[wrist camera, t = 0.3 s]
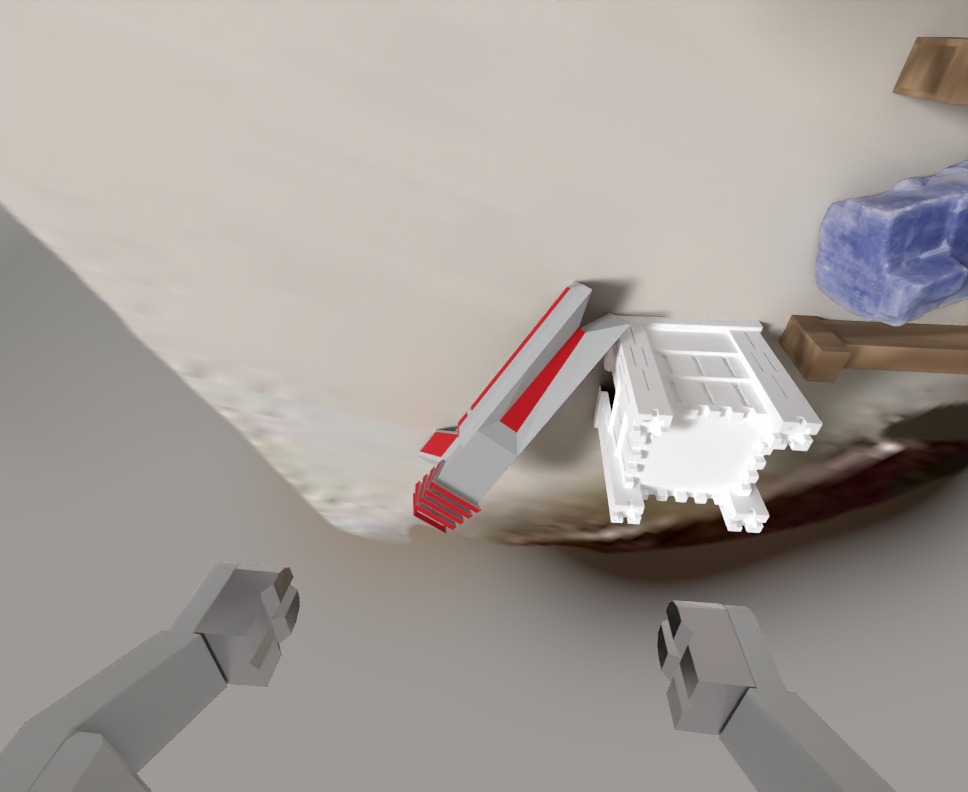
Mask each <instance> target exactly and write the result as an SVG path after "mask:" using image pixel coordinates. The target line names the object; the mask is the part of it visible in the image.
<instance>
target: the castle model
mask: <svg viewBox="0 0 968 792" xmlns="http://www.w3.org/2000/svg"><path fill="white" fill-rule="evenodd" d="M616 316H618V317H620V318H622V319H624V320H626V321H628V322H630V323H631V324H630V325H629V326H628V328H627V329H626V330H625V331H624V332H623V334H622V335H621V336H620V337H619V338H618V339H617V341H616V342H615V343H614V344H613V345H612V346H611V348H610V349H609V350H608V351H607V352H606V353H605V358H604V368H605V370H606V371H608V372H612V376H613V381H614V386H615V391H616V394H615V398H614V403H613V408H612V412H611V407H610V401H609V395H608V392H605V391H601V388H600V386H599V392H598V397H597V403H596V409H595V414H594V420H593V422H594V428H598V431H599V438H600V445H601V453H602V460H603V467H604V474H605V481H606V489H607V496H608V503H609V510H610V518H611V522H614V523H622V522H623V517H627V521H628V524H639V523H640V520H641V514H643V510H644V502H643V500H647V499H648V496H649V494H653V495H656V499H657V500H658V501H667V498H668V496H675V500H676V502H686V500H687V498H688V497H694V500H695V503H703V504H705V503H706V501H707V498H713V500H714V503H715V504H717V505H719V507H720V510H721V512H722V515H723V518H724V521H725V523H726V526H727V529H728V531H740V532H741V530H742V526H741V525H743V526H745V528H746V531H747V532H754V533H760V531H761V530H762V528H763V524H762V523H766V521H767V519H768V518H769V513H768V511H767V509H766V507H765V505H764V503H763V500H762V498H761V496H760V494H759V492H758V489H757V487H756V485H755V483H756V482H757V480H758V478H759V475H758V473H757V471H756V470H757V469H762V470H763V468H764V466H765V464H766V461H765V459H764V457H763V456H764V455H771V453H772V451H773V449H780V450H785V448H786V446H787V444H789V446H790V447H791V449H792V450H797V451H807V450H808V449H809V447H810V445H811V443H812V442H813V439H812V438H811V436H810V435H817V433H818V431H819V430H820V428H821V426H822V425H823V423H822V422H821V420H820V419H819V417H818V416H817V415H816V413H815V412H814V410H813V409H812V407H811V406H810V404H809V403H808V402H807V400H806V399H805V397H804V396H803V394H802V393H801V391H800V390H799V389H798V387H797V386H796V384H795V383H794V381H793V380H792V379H791V377H790V376H789V374H788V373H787V371H786V370H785V368H784V367H783V366H782V364H781V363H780V361H779V360H778V358H777V357H776V356H775V354H774V353H773V351H772V350H771V348H770V347H769V345H768V344H767V343H766V341H765V340H764V338H763V337H762V335H761V332H762V329H763V326H762V325H761V324H760V322H759V321H754V320H727V319H701V318H674V317H647V316H620V315H616Z"/></svg>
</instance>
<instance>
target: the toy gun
mask: <svg viewBox="0 0 968 792" xmlns="http://www.w3.org/2000/svg"><path fill="white" fill-rule="evenodd" d="M591 292H592V289H590V288H589V287H587V286H585V285H583V284H581V283H578V282H574V283H573V284H572V285H571V286H568V287H567V288H566V289H565V290H564V291H563V293H562V294H561V295H560V296H559V298H558V299H557V300H556V301H555V303H554V304H553V305H552V306H551V308H550V309H549V310H548V311H547V313H546V314H545V315H544V316H543V318H542V319H541V320H540V321H539V323H538V324H537V325H536V326H535V328H534V329H533V330H532V331H531V333H530V334H529V335H528V336H527V338H526V339H525V340H524V341H523V343H522V344H521V345H520V346H519V348H518V349H517V350H516V351H515V352H514V354H513V355H512V356H511V357H510V359H509V360H508V361H507V362H506V364H505V365H504V366H503V367H502V369H501V370H500V371H499V372H498V374H497V375H496V376H495V377H494V379H493V380H492V381H491V382H490V384H489V385H488V386H487V387H486V389H485V390H484V391H483V392H482V394H481V395H480V396H479V397H478V399H477V400H476V401H475V402H474V404H473V405H472V406H471V407H470V409H469V410H468V411H467V412H466V414H465V415H464V416H463V417H462V419H461V420H460V421H459V422H458V428H457V429H456V430H455V431H445V430H436V431H435V432H434V433H433V434H432V436H431V437H430V438H429V440H428V441H427V442H426V443H425V445H424V446H423V447H422V448H421V450H420V451H419V452H418V453H417V455H418V456H419V457H421V458H423V459H424V460H426V461H428V462H429V463H432V464H435V465H437V468H435V467H434V468H433V469H432V470H431V471H430V475H429V476H428V474H426V475H425V476H424V477H423V482H422V484H421V482H420V481H419V482H418V483H417V484H416V487H415V493H413V505H414V516H416V517H417V518H419V519H421V520H423V521H425V522H427V523H428V524H430V525H432V526H434V527H436V528H438V529H439V530H441V531H443V532H445V533H446V527H448V528H450V529H452V530H453V529H454V528H456V523H455V522H457V523H459V524H462V523H463V522H464V519H463V516H465V517H466V518H468V519H469V518H470V517H472V513H471V511H470V509H471V510H472V511H474V512H476V513H478V512H479V511H480V510H481V509H480V507H479V505H478V502H479V501H480V500H481V499H482V498H483V496H484V495H485V494H486V493H487V492H488V491H489V489H490V488H491V487H492V486H493V485H494V484H495V482H496V481H497V480H498V479H499V478H500V477H501V475H502V474H503V473H504V472H505V471H506V469H507V468H508V467H509V466H510V465H511V464H512V462H513V461H514V460H515V459H516V458H517V457H518V455H519V454H520V453H521V452H522V451H523V450H524V448H525V447H526V446H527V445H528V444H529V443H530V441H531V440H532V439H533V438H534V437H535V436H536V434H537V433H538V432H539V431H540V430H541V428H542V427H543V426H544V425H545V424H546V423H547V421H548V420H549V419H550V418H551V417H552V416H553V414H554V413H555V412H556V411H557V410H558V409H559V407H560V406H561V405H562V404H563V403H564V402H565V400H566V399H567V398H568V397H569V396H570V394H571V393H572V392H573V391H574V390H575V389H576V387H577V386H578V385H579V384H580V383H581V382H582V380H583V379H584V378H585V377H586V376H587V375H588V373H589V372H590V371H591V370H592V369H593V368H594V366H595V365H596V364H597V363H598V362H599V360H600V359H601V358H602V357H603V356H604V355H605V353H606V352H607V351H608V350H609V349H610V348H611V346H612V345H613V344H614V343H615V342H616V341H617V339H618V338H619V337H620V336H621V335H622V334H623V332H624V331H625V330H626V329H627V328H628V326H629V325H630V324H631V323H630V322H628V321H626V320H624V319H622V318H620V317H618V316H616V315H614V314H612V313H608V314H606V315H604V316H602V317H600V318H598V319H597V320H595V321H593V322H591V323H589V324H587V325H586V326H584V327H582V328H579V325H580V322H581V320H582V317H583V314H584V311H585V309H586V306H587V303H588V300H589V298H590V295H591ZM462 515H463V516H462ZM445 526H446V527H445Z"/></svg>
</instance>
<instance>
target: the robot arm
mask: <svg viewBox="0 0 968 792" xmlns="http://www.w3.org/2000/svg"><path fill="white" fill-rule="evenodd" d="M292 579H293V575H292V572H291V569H290V568H289V567H280V566H270V565H260V564H250V563H243V562H232V561H219V562H218V563H216V564H215V565H214V566H213V567H212V568H211V569H210V570H209V572H208V574H207V575H206V576H205V578H204V579H203V581H202V582H201V584H200V585H199V587H198V588H197V589H196V591H195V592H194V594H193V595H192V597H191V598H190V600H189V601H188V603H187V604H186V605H185V607H184V608H183V610H182V611H181V613H180V614H179V616H178V617H177V619H176V620H175V621H174V623H173V624H172V626H171V628H170V629H169V630H168V631H165V630H161V631H159V632H158V633H156V634H155V635H154V636H152V637H151V638H149V639H148V640H146V641H145V642H143V643H142V644H140V645H139V646H137V647H136V648H134V649H133V650H132V651H130V652H128V653H127V654H126V655H124V656H123V657H121V658H120V659H118V660H117V661H115V662H114V663H112V664H111V665H110V666H108V667H106V668H105V669H103V670H102V671H100V672H99V673H97V674H96V675H95V676H93V677H92V678H90V679H89V680H87V681H86V682H84V683H83V684H81V685H80V686H78V687H77V688H75V689H74V690H72V691H71V692H70V693H68V694H67V695H65V696H64V697H62V698H61V699H59V700H58V701H56V702H55V703H53V704H52V705H50V706H49V707H48V708H46V709H45V710H43V711H41V712H40V713H39V714H37V715H36V716H34V717H33V718H31V719H30V720H29V721H27V722H26V723H24V725H23V726H22V727H21V728H20V730H19V731H18V732H17V733H16V735H15V736H14V737H13V738H12V740H11V741H10V742H9V743H8V744H7V745H6V747H5V748H4V749H3V750H2V752H1V753H0V792H151V789H150V788H149V787H148V786H147V785H146V784H145V783H144V782H143V780H142V779H141V778H140V777H139V776H138V775H137V774H136V773H137V772H138V771H140V770H141V769H142V768H143V767H144V766H145V765H146V764H147V763H148V762H149V761H150V760H151V759H152V758H153V757H154V756H155V755H156V754H157V753H158V752H159V751H160V750H161V749H163V748H164V747H165V746H166V745H167V744H168V743H169V742H170V741H171V740H172V739H173V738H174V737H175V736H176V735H177V734H178V733H179V732H180V731H181V730H182V729H183V728H184V727H185V726H187V724H189V723H190V722H191V721H192V720H193V719H194V718H195V717H196V716H197V715H198V714H199V713H200V712H201V711H202V710H203V709H204V708H205V707H206V706H207V705H208V704H209V703H211V702H212V701H213V700H214V699H215V698H216V697H217V696H218V695H219V694H220V693H221V692H222V691H223V690H224V689H225V688H226V687H227V684H236V685H250V686H264V687H267V686H268V683H269V681H270V679H271V677H272V675H273V672H274V670H275V668H276V666H277V664H278V661H279V659H280V657H281V651H280V646H279V644H280V643H281V642H282V641H283V640H284V639H286V638H287V637H288V636H289V635H291V632H292V630H293V628H294V625H295V623H296V621H297V616H298V612H299V607H300V605H299V603H300V601H299V594H298V591H297V589H295V588H294V587H293V586H292V585H291V584H290V583H291V581H292ZM666 613H667V617H668V619H667V620H666V621H664V622H662V623H661V625H660V628H659V631H658V645H657V646H658V656H659V662H660V666H661V670H662V672H663V673H664V674H665V675H666V676H667V678H668V679H669V680H670V681H671V684H670V686H669V689H668V691H667V698H668V702H669V706H670V711H671V715H672V719H673V724H674V728H675V729H676V730H682V731H690V732H698V733H705V734H713V735H720V737H719V739H720V740H721V742H722V743H723V744H724V746H725V747H726V748H727V750H728V751H729V753H730V754H731V755H732V757H733V758H734V760H735V761H736V762H737V764H738V765H739V766H740V768H741V769H742V771H743V772H744V773H745V775H746V776H747V777H748V779H749V780H750V782H751V783H752V784H753V786H754V787H755V788H756V790H757V791H758V792H896V791H895V790H894V789H893V788H892V787H891V786H890V785H889V784H888V783H887V782H886V781H885V780H884V779H883V778H882V777H881V776H880V775H879V774H878V773H877V772H876V771H875V770H874V769H873V768H872V767H871V766H870V765H869V764H868V763H867V762H866V761H865V760H864V759H863V758H862V757H861V756H859V754H858V753H857V752H856V751H854V750H853V749H852V748H851V747H850V746H849V745H848V744H847V743H846V742H845V741H844V740H843V739H842V738H841V737H840V736H839V735H838V734H837V733H836V732H835V731H834V730H833V729H832V728H831V727H830V726H829V725H828V724H827V723H826V722H825V721H824V720H823V719H822V718H821V717H820V716H819V715H818V714H817V713H816V712H815V711H814V710H813V709H811V707H810V706H808V705H807V703H805V702H804V701H803V700H802V699H801V698H800V697H799V696H798V695H797V694H796V693H795V692H788V691H787V690H786V688H785V685H784V683H783V681H782V678H781V676H780V674H779V671H778V669H777V667H776V664H775V662H774V660H773V658H772V655H771V653H770V651H769V648H768V646H767V644H766V641H765V639H764V637H763V634H762V632H761V630H760V628H759V625H758V623H757V621H756V618H755V616H754V614H753V612H752V611H751V610H750V609H749V608H748V607H745V606H731V605H720V604H716V603H701V602H687V601H671V602H669V604H668V606H667V609H666Z"/></svg>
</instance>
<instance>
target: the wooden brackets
mask: <svg viewBox="0 0 968 792" xmlns="http://www.w3.org/2000/svg"><path fill="white" fill-rule="evenodd" d="M893 92H894V93H899V94H904V95H908V96H913V97H918V98H923V99H927V100H932V101H937V102H942V103H946V104H951V105H968V38H959V37H917V39H916V41H915V43H914V46H913V48H912V50H911V52H910V55H909V57H908V59H907V61H906V63H905V66H904V68H903V70H902V72H901V74H900V77H899V79H898V81H897V83H896V85H895V88H894V90H893ZM779 344H780V345H781V347H782V348H783V349H784V351H785V352H786V354H787V355H788V356H789V358H790V359H791V360H792V362H793V363H794V365H795V366H796V367H797V369H798V370H799V371H800V373H801V374H802V375H803V377H804V378H805V380H806V381H817V382H835V380H836V379H837V377H838V375H839V373H840V372H841V370H842V368H852V369H872V370H891V371H911V372H931V373H950V374H968V326H953V325H930V324H908V323H905V324H904V325H902V326H891V325H889V324H885V323H882V322H862V321H839V320H821V319H820V318H819V317H818V316H800V315H792V316H791V318H790V320H789V322H788V324H787V327H786V329H785V331H784V333H783V335H782V338H781V340H780V342H779Z"/></svg>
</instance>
